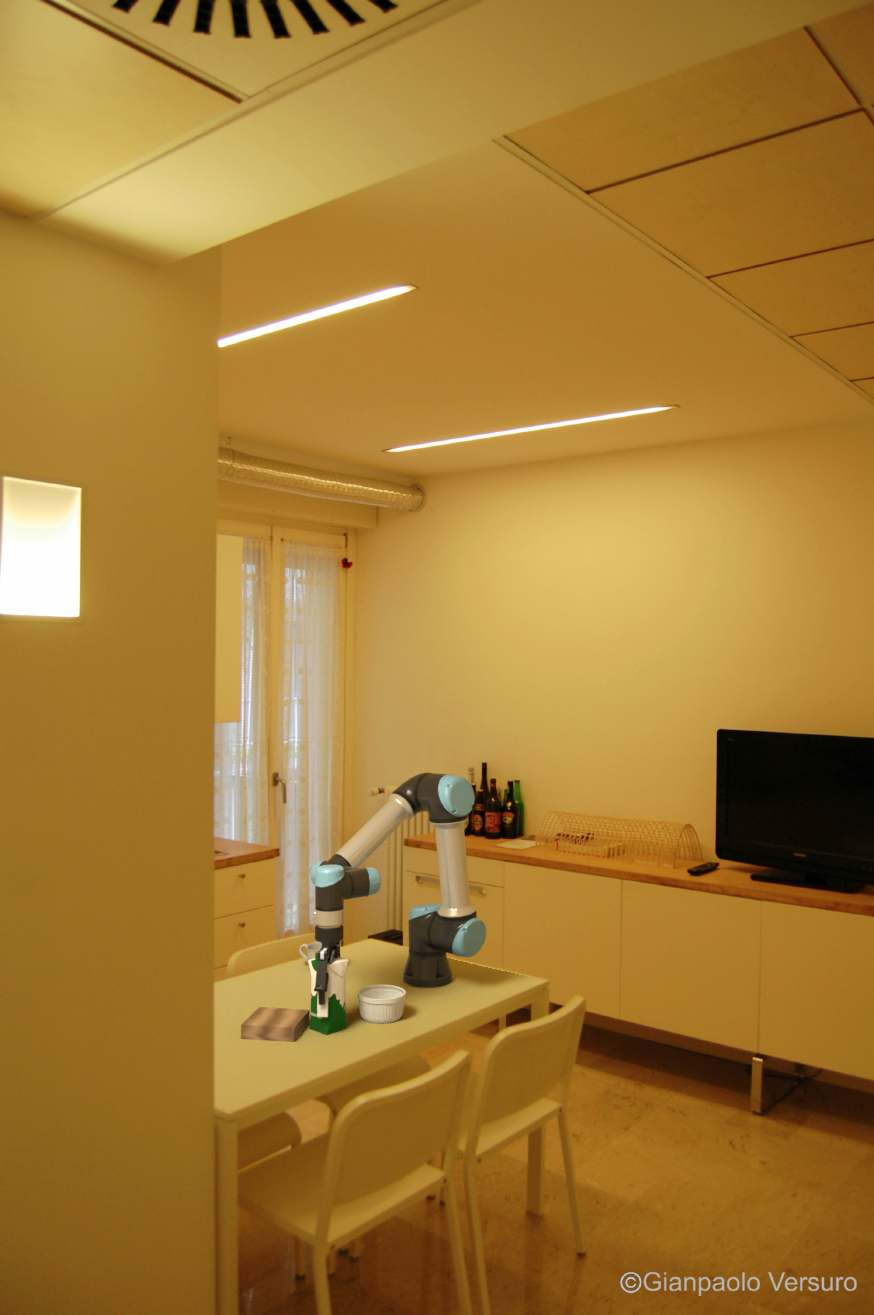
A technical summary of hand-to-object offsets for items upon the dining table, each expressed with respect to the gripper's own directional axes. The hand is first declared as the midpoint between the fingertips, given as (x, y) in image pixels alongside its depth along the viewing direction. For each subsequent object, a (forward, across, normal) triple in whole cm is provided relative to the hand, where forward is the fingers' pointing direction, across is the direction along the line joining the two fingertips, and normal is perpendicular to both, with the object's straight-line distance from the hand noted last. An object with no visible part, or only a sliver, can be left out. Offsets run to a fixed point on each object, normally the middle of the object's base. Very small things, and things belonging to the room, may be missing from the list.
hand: (328, 1009), depth 253 cm
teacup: (+5, -52, -17) cm, 55 cm away
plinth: (+5, +4, -13) cm, 15 cm away
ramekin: (+5, -11, +12) cm, 17 cm away
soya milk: (+5, 0, 0) cm, 5 cm away
